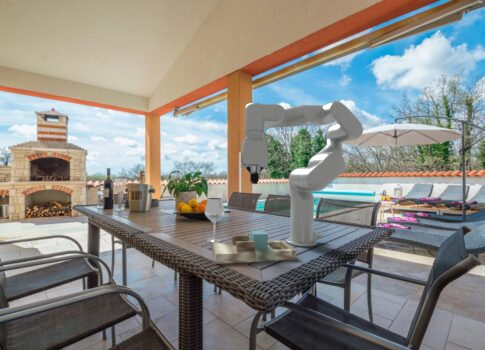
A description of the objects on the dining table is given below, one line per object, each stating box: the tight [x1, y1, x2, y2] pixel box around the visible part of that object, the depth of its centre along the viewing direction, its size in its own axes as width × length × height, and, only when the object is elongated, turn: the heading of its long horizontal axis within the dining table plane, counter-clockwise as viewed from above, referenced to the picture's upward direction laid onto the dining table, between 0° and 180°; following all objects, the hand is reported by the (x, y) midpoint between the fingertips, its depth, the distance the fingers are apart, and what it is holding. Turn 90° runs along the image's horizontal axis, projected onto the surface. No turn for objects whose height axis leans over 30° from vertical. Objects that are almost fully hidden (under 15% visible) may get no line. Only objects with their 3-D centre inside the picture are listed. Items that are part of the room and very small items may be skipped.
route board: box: [211, 234, 297, 265], centre depth 86 cm, size 27×13×6 cm, turn 102°
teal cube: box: [250, 230, 269, 249], centre depth 86 cm, size 5×5×5 cm
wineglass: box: [204, 197, 225, 244], centre depth 104 cm, size 8×8×18 cm
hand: (254, 183), depth 95 cm, fingers closed
